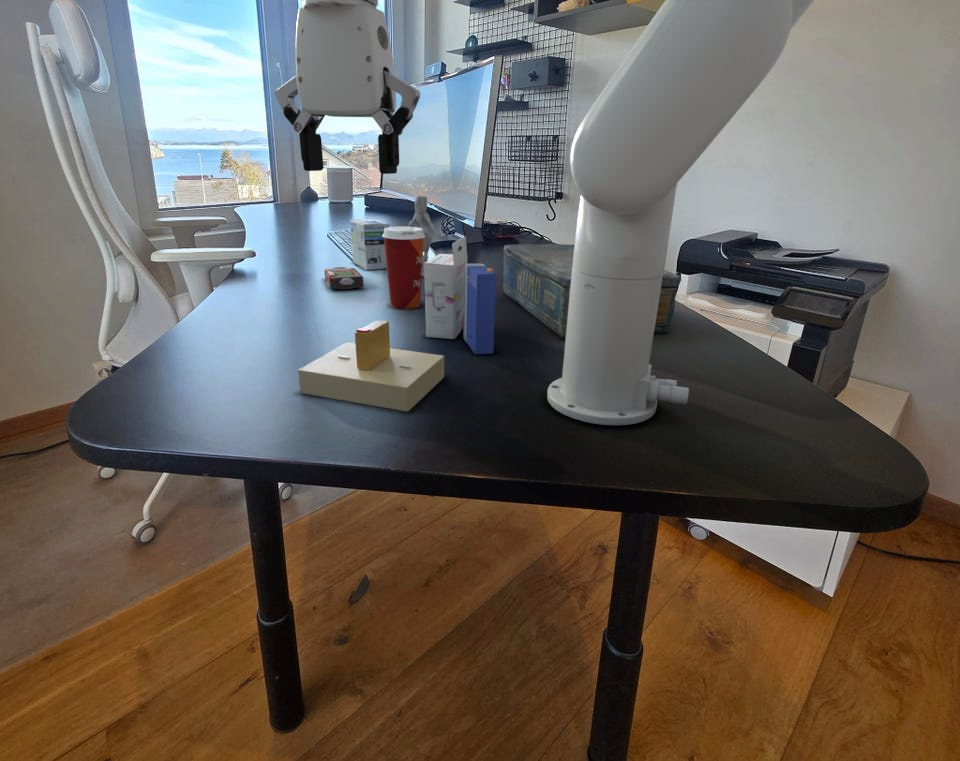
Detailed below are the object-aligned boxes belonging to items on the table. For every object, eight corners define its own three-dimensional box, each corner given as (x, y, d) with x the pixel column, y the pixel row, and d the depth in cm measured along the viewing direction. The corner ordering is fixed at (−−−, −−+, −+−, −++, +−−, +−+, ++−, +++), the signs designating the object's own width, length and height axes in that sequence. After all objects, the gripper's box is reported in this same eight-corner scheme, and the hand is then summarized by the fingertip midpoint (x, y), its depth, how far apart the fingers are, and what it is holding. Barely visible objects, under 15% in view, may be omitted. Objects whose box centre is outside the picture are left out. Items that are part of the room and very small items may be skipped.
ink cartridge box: (438, 322, 93) (438, 233, 87) (467, 324, 92) (468, 235, 86) (423, 337, 85) (422, 241, 80) (454, 340, 84) (455, 243, 79)
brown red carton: (352, 264, 125) (363, 274, 112) (353, 277, 126) (364, 289, 113) (322, 266, 123) (329, 276, 109) (323, 279, 124) (330, 291, 110)
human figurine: (447, 280, 124) (447, 196, 117) (435, 282, 121) (434, 197, 114) (411, 272, 131) (409, 193, 124) (399, 274, 128) (396, 193, 121)
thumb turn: (379, 353, 69) (377, 317, 67) (390, 355, 69) (389, 319, 67) (356, 368, 64) (354, 330, 62) (368, 370, 64) (366, 331, 62)
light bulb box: (392, 268, 134) (390, 223, 130) (365, 270, 131) (363, 224, 127) (377, 261, 143) (375, 218, 138) (351, 262, 139) (349, 219, 135)
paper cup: (431, 308, 101) (430, 231, 95) (390, 311, 98) (387, 232, 93) (419, 298, 108) (418, 225, 102) (380, 301, 105) (377, 226, 99)
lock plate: (444, 377, 70) (444, 354, 69) (407, 412, 61) (407, 386, 60) (348, 362, 74) (347, 340, 73) (300, 393, 65) (297, 368, 63)
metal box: (590, 289, 119) (595, 242, 115) (676, 334, 90) (687, 273, 86) (497, 292, 114) (499, 244, 110) (557, 341, 85) (562, 277, 81)
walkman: (493, 353, 79) (496, 271, 75) (475, 354, 79) (476, 271, 74) (480, 336, 86) (482, 260, 82) (463, 337, 86) (464, 261, 81)
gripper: (430, 0, 58) (432, 173, 64) (289, 8, 62) (304, 169, 69) (400, -20, 51) (405, 175, 58) (244, -10, 55) (266, 170, 62)
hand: (350, 171), depth 63 cm, fingers open, 9 cm apart
